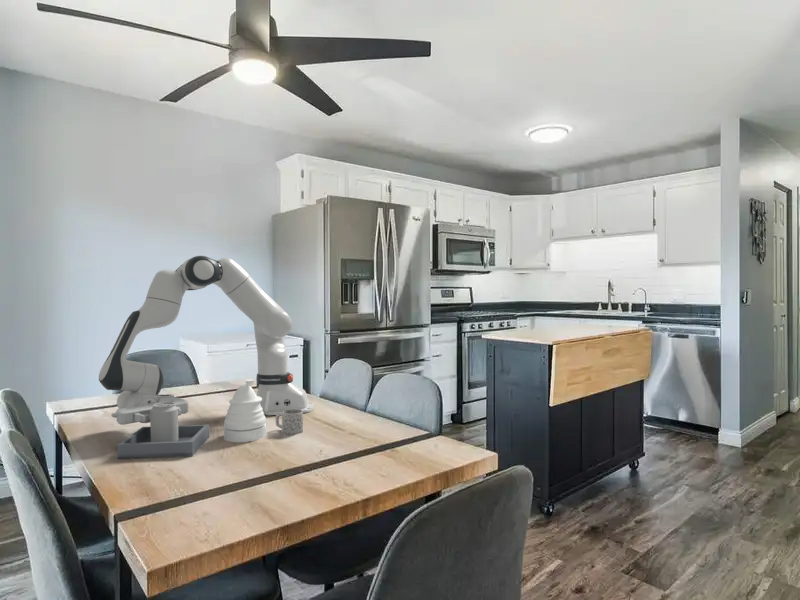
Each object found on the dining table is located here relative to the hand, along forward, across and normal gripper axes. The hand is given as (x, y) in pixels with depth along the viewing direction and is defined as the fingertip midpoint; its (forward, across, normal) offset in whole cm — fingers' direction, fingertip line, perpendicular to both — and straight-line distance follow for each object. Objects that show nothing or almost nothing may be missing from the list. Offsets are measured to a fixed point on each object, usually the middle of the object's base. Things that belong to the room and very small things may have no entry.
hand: (163, 415), depth 152 cm
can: (+2, 0, +8) cm, 8 cm away
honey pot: (+9, +22, +9) cm, 25 cm away
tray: (+2, 0, +9) cm, 9 cm away
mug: (+14, +34, +9) cm, 38 cm away
